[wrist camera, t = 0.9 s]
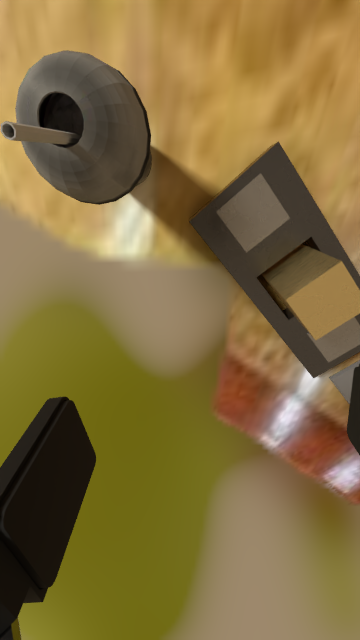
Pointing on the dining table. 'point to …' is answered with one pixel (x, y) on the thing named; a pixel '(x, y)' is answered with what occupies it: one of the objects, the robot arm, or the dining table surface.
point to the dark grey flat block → (276, 248)
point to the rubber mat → (345, 380)
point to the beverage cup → (82, 127)
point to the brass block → (315, 289)
